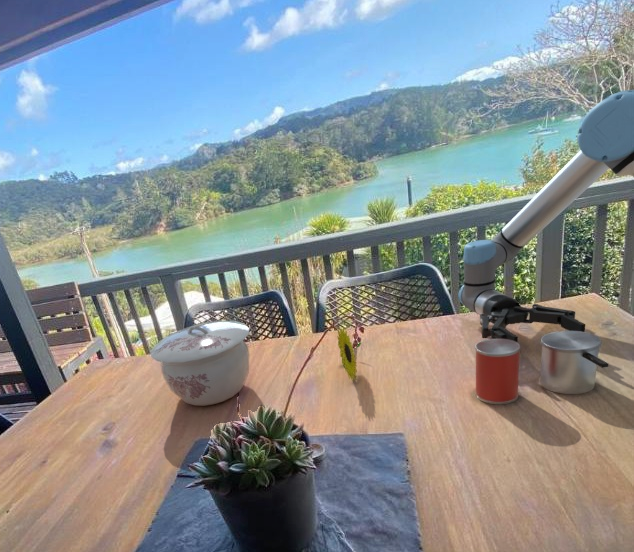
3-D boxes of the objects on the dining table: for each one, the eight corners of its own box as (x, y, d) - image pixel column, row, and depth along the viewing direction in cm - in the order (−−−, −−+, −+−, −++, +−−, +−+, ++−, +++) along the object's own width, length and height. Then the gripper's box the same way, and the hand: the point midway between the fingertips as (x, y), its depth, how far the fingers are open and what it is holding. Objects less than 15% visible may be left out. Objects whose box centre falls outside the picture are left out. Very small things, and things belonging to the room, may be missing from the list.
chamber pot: (265, 407, 110) (248, 331, 102) (160, 428, 112) (136, 355, 104) (257, 363, 135) (244, 300, 127) (172, 381, 137) (154, 320, 130)
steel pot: (575, 369, 94) (579, 327, 91) (627, 402, 81) (635, 353, 78) (528, 377, 96) (531, 335, 92) (573, 410, 83) (577, 363, 79)
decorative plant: (343, 322, 132) (315, 332, 106) (362, 317, 129) (338, 326, 103) (355, 369, 133) (330, 390, 106) (374, 365, 130) (354, 386, 104)
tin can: (505, 383, 95) (506, 335, 91) (526, 400, 88) (528, 349, 84) (469, 389, 96) (468, 342, 92) (486, 407, 89) (486, 357, 85)
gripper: (547, 312, 113) (609, 341, 94) (448, 330, 116) (488, 362, 97) (549, 284, 110) (613, 308, 91) (447, 304, 113) (488, 331, 94)
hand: (549, 336), depth 94 cm, fingers open, 13 cm apart
